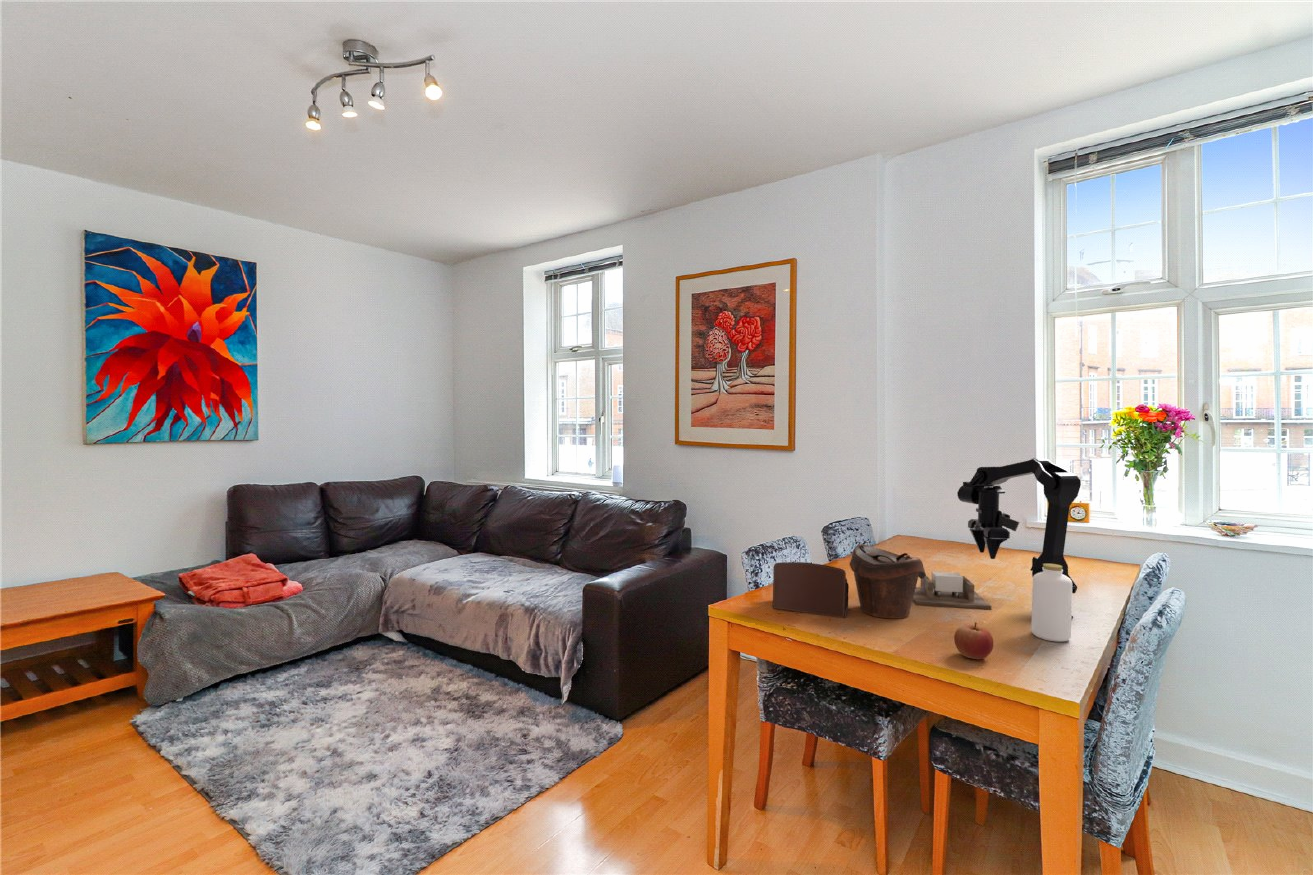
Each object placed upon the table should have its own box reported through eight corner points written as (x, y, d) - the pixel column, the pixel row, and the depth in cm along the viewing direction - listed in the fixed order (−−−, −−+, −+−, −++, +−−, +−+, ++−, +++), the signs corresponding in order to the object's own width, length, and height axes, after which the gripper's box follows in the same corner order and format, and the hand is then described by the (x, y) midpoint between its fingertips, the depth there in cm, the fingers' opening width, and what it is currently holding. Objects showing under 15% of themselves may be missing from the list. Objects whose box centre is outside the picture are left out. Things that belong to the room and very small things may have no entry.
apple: (983, 651, 143) (984, 617, 142) (999, 665, 135) (1000, 629, 134) (948, 649, 143) (948, 616, 143) (961, 663, 135) (962, 627, 135)
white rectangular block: (935, 590, 182) (935, 575, 182) (931, 586, 187) (931, 571, 187) (962, 592, 181) (963, 577, 180) (957, 587, 185) (958, 573, 185)
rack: (991, 609, 174) (991, 588, 174) (916, 604, 178) (917, 584, 178) (973, 593, 190) (974, 574, 190) (905, 589, 194) (906, 570, 193)
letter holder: (845, 618, 166) (845, 567, 165) (772, 609, 173) (772, 560, 173) (848, 608, 175) (849, 559, 174) (779, 600, 182) (779, 553, 182)
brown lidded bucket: (932, 625, 160) (932, 556, 160) (852, 620, 164) (853, 553, 164) (917, 605, 178) (917, 544, 177) (845, 601, 182) (846, 541, 181)
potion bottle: (1033, 629, 158) (1035, 559, 157) (1072, 636, 153) (1074, 565, 152) (1028, 637, 151) (1030, 565, 151) (1068, 646, 146) (1071, 571, 146)
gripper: (1029, 511, 182) (1027, 563, 183) (1004, 503, 200) (1003, 550, 201) (989, 510, 184) (987, 562, 184) (967, 502, 202) (966, 548, 203)
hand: (987, 555), depth 193 cm, fingers open, 9 cm apart
